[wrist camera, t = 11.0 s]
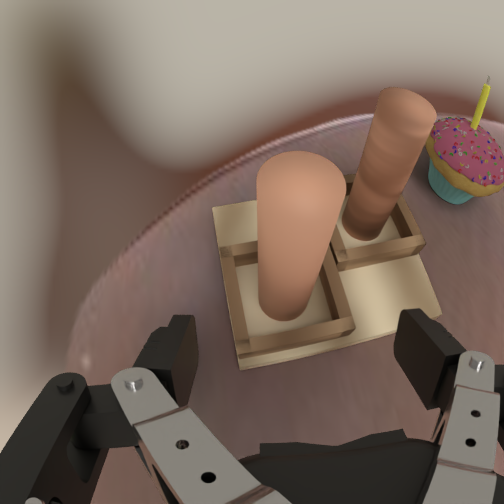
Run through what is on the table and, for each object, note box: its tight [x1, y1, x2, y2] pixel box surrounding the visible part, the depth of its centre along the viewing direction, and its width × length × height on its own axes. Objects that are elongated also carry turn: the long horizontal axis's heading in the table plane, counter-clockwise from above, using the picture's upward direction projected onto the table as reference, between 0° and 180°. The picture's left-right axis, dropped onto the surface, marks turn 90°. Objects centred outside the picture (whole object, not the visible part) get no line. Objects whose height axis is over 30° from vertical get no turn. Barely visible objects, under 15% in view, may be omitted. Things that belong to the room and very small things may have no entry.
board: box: [212, 87, 442, 370], centre depth 18 cm, size 14×12×12 cm
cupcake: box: [425, 76, 504, 204], centre depth 22 cm, size 9×8×12 cm
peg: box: [257, 151, 346, 321], centre depth 16 cm, size 3×3×11 cm
